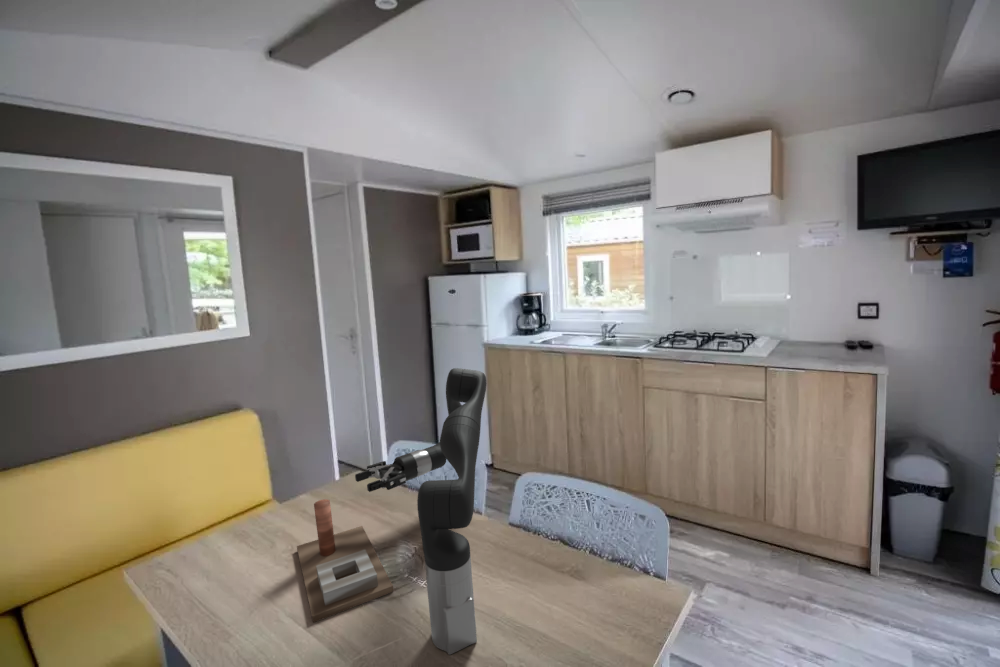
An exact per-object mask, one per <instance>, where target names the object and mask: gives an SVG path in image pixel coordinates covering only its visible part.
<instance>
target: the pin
mask: <svg viewBox="0 0 1000 667" xmlns="http://www.w3.org/2000/svg"><path fill="white" fill-rule="evenodd" d="M313 507H314V508H313V509H314V515H315V516H314V517H315V523H316V524H315V526H316V534H317V540H318V542H319V550H320V555H321V556H329V555H331V554H333V553H334V552H335V550H336V549H335V540H334V532H335V531H334V524H333V516H332V508H331V501H330V499H326V498H325V499H320V500H318V501H315V502H314V503H313Z"/></svg>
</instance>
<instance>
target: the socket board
mask: <svg viewBox="0 0 1000 667" xmlns="http://www.w3.org/2000/svg"><path fill="white" fill-rule="evenodd" d="M334 540H335V549H336V550H335V552H334V553H333V554H331V555H329V556H321V555H320V550H319V542H318V539H315V540H312V541H309V542H305V543H302V544H299V545H296V550H297V555H298V560H299V564H300V568H301V573H302V578H303V583H304V586H305V587H304V588H305V591H306V596H307V601H308V605H309V610H310V615H311V619H312V623H316V622H318V621H322V620H324V619H326V618H330V617H331V616H334V615H336V614H339V613H341V612H344V611H348V610H350V609H352V608H354V607H355V608H356V607H358V606H360V605H362V604H366V603H367V602H368V603H369V602H370V601H373V600H376V599H378V598H380V597H381V598H382V597H383V596H385V595H388V593H389V594H391V593H393V591H394V585H393V583H392V581H391V579H390V577H389V575H388V574H387V571H386V569H385V568H384V565H383V564H382V562H381V560H380V557H379V556H378V553H377V552H376V549H375V548H374V546H373V544H372V542H371V541H370V538H369V537H368V534H367V533H366V530H365V528H364V527H363V525H361V526H357V527H354V528H351V529H347V530H345V531H341V532H338V533H335V534H334ZM390 592H391V593H390Z"/></svg>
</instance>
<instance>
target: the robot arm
mask: <svg viewBox="0 0 1000 667" xmlns="http://www.w3.org/2000/svg"><path fill="white" fill-rule="evenodd" d="M445 382H446V383H445V400H446V408H447V414H448V416H447V417H446V418H445V419H444V422H443V424H442V429H441V432H440V437H439V442H437V443H436V444H434V445H432V446H429V447H426V448H424V449H418V450H414V451H411V452H409V453H405V454H403V455H400V456H397V457H395V458H394V461H393V462H392V463H391V464H388V463H387V461H386V460H383V461H380V462H376V463H373V464H371V465H367V466H366V470H365V471H361V472H357V473H355V475H354V478H355V481H356V483H357V482H358V483H359V482H362V481H365V480H367V479H371V478H375V479H376V480H375V481H371V482H369V483H367V484H366V488H367V491H368V492H369V493H371V492H374V491H376V490H379V489H386V490H387V491H389V490H392V489H394V488H397V487H399V486H401V485H404V484H406V483H407V482H408V481H410V480H414V479H416V478H419V477H421V476H424V475H425V474H428V473H430V472H431V471H436V470H437V469H440V468H442V467H444V466H445V465H446V462H448V463H449V464H450V465H451V467H452V468H453V469H454V471H455V472H456V475H457V477H458V478H457V479H442V480H441V479H439V480H437V479H435V480H434V479H433V480H426V481H424V482H422V483H421V485H420V486H419V489H418V493H417V498H416V499H417V500H416V501H417V504H416V506H417V515H418V521H419V522H418V523H419V527H420V528H419V529H420V535H421V542H422V545H421V546H422V550H423V555H424V565H425V566H424V567H425V577H426V578H425V579H426V589H427V600H428V612H429V622H430V633H431V641H432V643H433V644H434V646H435V647H436V648H438V649H440V650H441V651H445V652H446V653H447V654H448V655H452V654H455V653H456V652H458V651H460V650H463V649H465V648H466V647H468V646H469V647H470V646H471V645H474V644H476V643H477V640H478V639H477V624H476V611H475V596H474V586H473V572H472V571H473V570H472V558H471V547H470V546H471V545H470V543H469V540H468V539H467V537H466V536H464V535H463V534H461V533H459V532H456V531H454V530H456V529H457V530H459V529H465V528H467V527H469V525H470V524H471V522H472V519H473V515H474V509H475V490H476V489H475V488H476V486H475V484H476V483H475V481H476V466H477V459H478V451H479V446H480V437H481V424H482V423H481V422H482V412H483V408H484V407H483V406H484V401H485V397H486V392H487V377H486V375H485V373H484V372H482V371H480V370H474V369H466V368H461V367H460V368H458V367H455V368H451V369H450V370H449V372H448V375H447V377H446V381H445ZM461 403H464V404H461Z"/></svg>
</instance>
